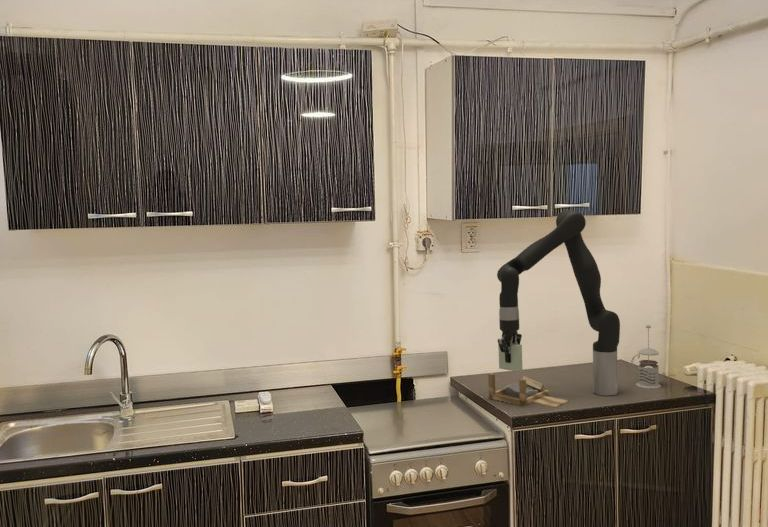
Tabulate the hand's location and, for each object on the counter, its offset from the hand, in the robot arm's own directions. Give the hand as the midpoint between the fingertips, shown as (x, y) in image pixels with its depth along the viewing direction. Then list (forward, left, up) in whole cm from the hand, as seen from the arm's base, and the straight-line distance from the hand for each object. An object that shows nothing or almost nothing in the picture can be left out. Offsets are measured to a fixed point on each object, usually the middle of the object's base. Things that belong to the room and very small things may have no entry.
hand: (510, 361), depth 271 cm
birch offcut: (-13, +1, -13) cm, 18 cm away
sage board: (0, 0, -3) cm, 3 cm away
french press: (-50, +32, -16) cm, 62 cm away
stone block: (-8, 0, -16) cm, 18 cm away
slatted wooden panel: (-6, +13, -15) cm, 21 cm away
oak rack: (-5, 0, -15) cm, 16 cm away
